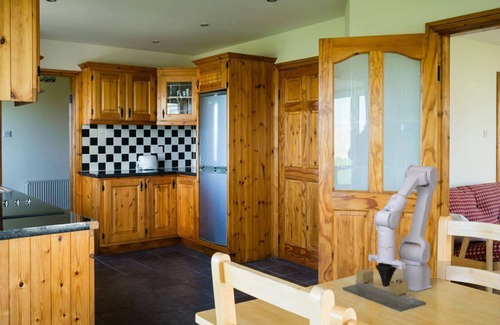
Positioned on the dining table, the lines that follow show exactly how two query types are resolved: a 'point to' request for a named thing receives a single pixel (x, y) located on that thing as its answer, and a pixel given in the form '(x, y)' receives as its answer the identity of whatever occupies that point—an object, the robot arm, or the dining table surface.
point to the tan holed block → (399, 287)
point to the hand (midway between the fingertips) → (386, 285)
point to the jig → (381, 293)
